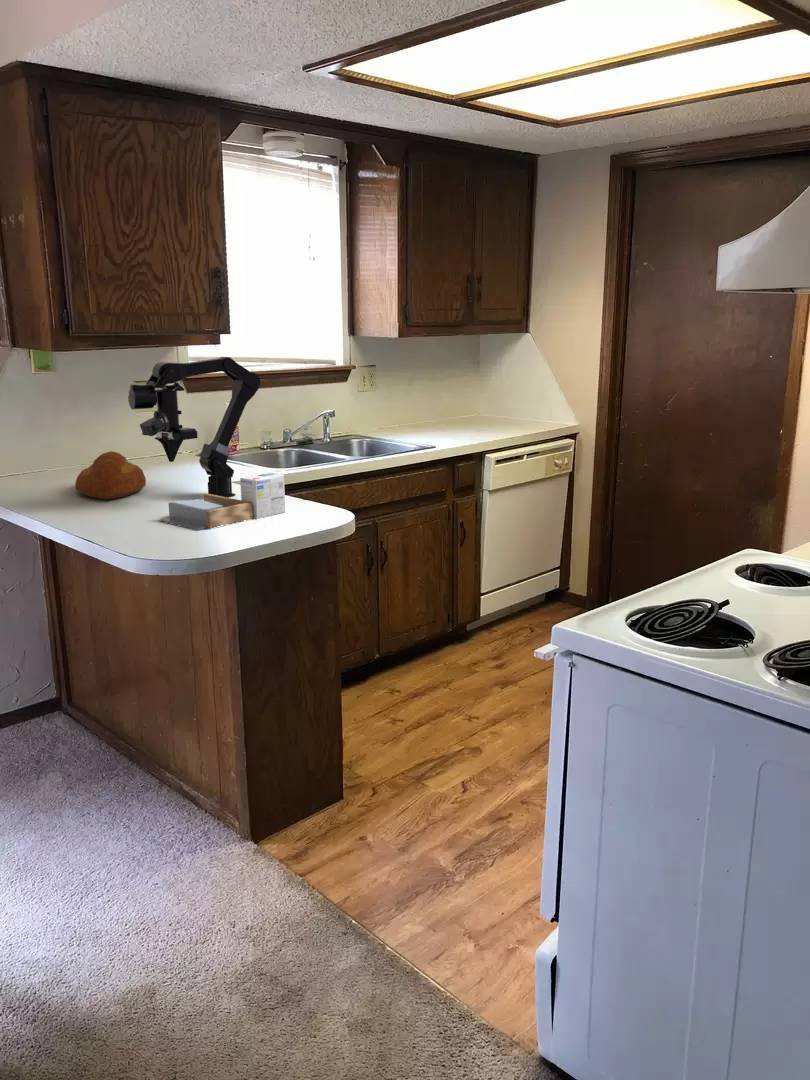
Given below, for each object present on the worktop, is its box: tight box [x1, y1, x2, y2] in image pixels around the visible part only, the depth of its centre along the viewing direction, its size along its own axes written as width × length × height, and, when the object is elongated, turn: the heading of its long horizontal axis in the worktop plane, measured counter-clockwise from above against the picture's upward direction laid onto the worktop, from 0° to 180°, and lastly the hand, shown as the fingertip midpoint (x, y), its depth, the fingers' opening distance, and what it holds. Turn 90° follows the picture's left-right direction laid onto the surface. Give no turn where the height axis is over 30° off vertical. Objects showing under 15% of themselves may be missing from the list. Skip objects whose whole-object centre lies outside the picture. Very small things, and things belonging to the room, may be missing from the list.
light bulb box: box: [239, 472, 286, 520], centre depth 235 cm, size 11×7×11 cm, turn 141°
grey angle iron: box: [159, 501, 210, 531], centre depth 224 cm, size 4×16×4 cm, turn 51°
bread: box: [74, 450, 147, 501], centre depth 265 cm, size 21×33×12 cm, turn 10°
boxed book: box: [177, 499, 223, 510], centre depth 232 cm, size 8×12×4 cm
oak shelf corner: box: [202, 492, 254, 529], centre depth 231 cm, size 14×19×4 cm
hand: (171, 461), depth 248 cm, fingers closed
